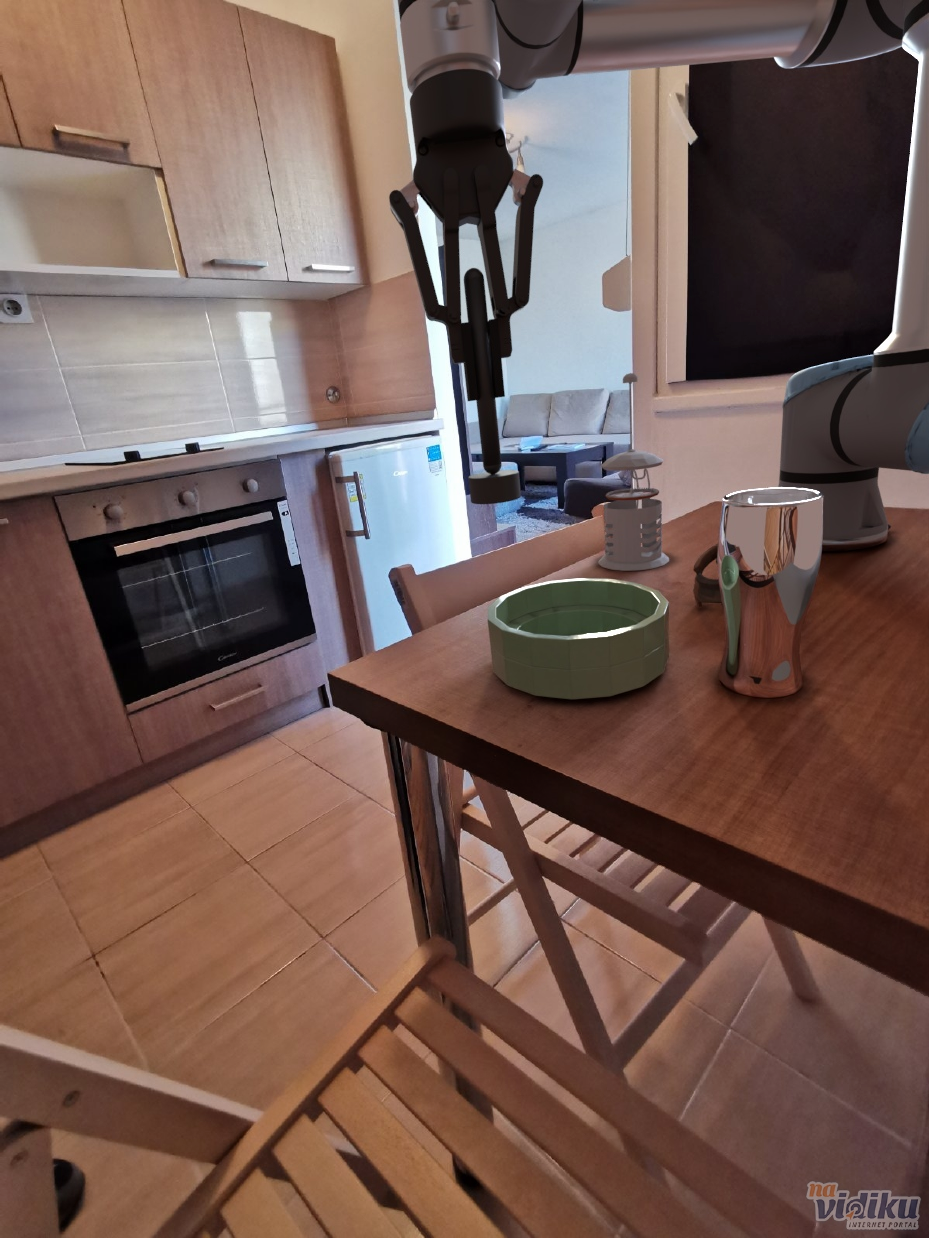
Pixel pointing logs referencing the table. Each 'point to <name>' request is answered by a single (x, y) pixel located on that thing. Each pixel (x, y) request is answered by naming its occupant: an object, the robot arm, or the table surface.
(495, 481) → the rod on round base
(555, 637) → the bowl
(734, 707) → the table surface
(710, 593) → the brown curved piece
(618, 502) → the french press
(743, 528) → the beer glass
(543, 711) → the table surface
